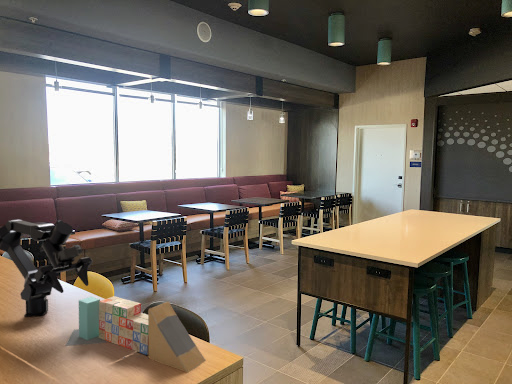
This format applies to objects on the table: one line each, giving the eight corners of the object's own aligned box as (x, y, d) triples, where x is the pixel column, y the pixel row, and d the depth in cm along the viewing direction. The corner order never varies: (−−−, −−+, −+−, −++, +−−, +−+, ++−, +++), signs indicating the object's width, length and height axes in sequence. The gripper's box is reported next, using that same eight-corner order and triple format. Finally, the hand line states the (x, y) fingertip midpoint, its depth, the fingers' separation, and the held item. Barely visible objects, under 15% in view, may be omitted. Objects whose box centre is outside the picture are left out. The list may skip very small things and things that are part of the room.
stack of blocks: (161, 348, 123) (163, 309, 122) (147, 356, 117) (148, 315, 116) (113, 331, 133) (114, 295, 132) (97, 337, 127) (98, 300, 127)
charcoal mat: (65, 347, 122) (65, 345, 122) (73, 331, 133) (73, 329, 133) (106, 344, 124) (106, 342, 124) (111, 328, 136) (111, 327, 136)
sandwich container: (188, 373, 108) (188, 320, 107) (147, 358, 116) (147, 309, 115) (207, 360, 116) (207, 310, 115) (167, 347, 124) (168, 300, 122)
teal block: (79, 336, 128) (78, 300, 127) (91, 331, 132) (91, 296, 131) (87, 340, 126) (87, 303, 125) (100, 335, 130) (99, 299, 129)
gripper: (38, 242, 129) (58, 281, 124) (89, 234, 145) (109, 268, 139) (25, 263, 133) (45, 301, 128) (76, 253, 149) (95, 287, 144)
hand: (75, 288), depth 135 cm, fingers open, 9 cm apart
